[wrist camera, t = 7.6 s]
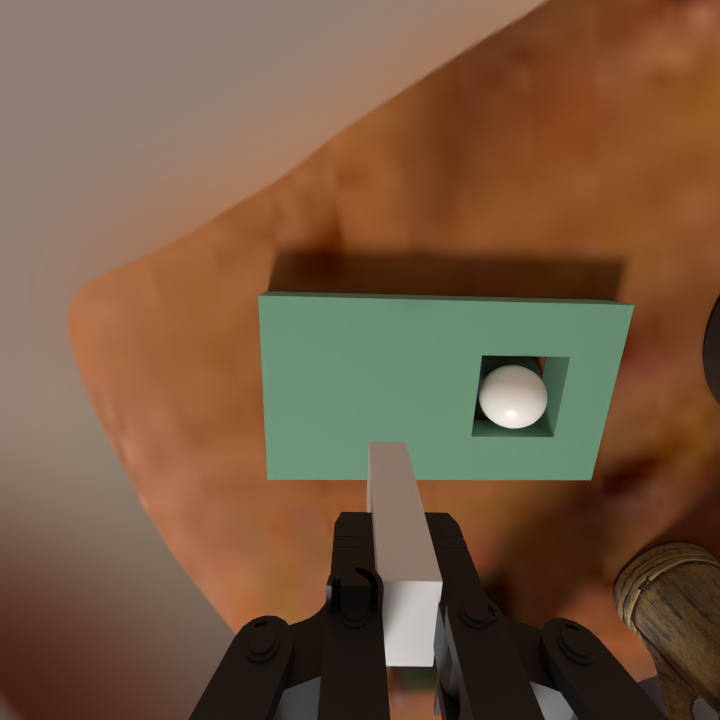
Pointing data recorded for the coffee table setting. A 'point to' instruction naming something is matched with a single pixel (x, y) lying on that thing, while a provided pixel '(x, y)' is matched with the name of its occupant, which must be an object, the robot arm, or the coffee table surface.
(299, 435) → the putting mat
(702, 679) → the wooden mug
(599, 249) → the coffee table surface
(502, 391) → the ball
